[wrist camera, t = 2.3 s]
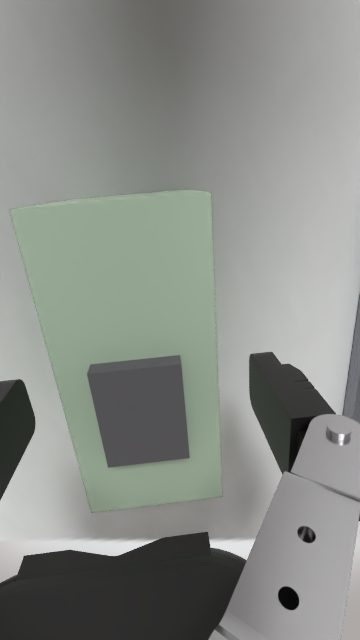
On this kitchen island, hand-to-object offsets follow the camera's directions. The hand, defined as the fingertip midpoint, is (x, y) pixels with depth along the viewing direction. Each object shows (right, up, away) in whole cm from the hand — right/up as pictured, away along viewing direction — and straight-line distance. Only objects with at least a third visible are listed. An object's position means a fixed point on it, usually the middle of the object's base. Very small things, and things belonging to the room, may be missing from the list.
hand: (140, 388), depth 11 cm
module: (0, +3, +6) cm, 7 cm away
